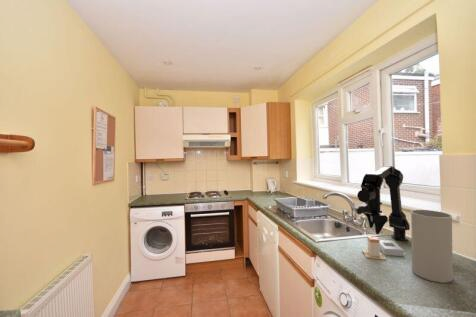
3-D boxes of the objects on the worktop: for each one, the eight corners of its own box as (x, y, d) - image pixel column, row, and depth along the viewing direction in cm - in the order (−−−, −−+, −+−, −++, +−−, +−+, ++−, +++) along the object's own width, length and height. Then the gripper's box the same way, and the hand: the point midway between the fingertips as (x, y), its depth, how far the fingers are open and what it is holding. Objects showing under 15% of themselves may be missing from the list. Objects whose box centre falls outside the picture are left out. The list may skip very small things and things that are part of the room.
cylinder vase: (442, 270, 95) (442, 210, 95) (460, 286, 84) (459, 218, 83) (407, 265, 100) (406, 209, 99) (419, 280, 88) (418, 216, 87)
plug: (367, 252, 113) (367, 236, 112) (376, 253, 112) (376, 236, 112) (370, 255, 109) (370, 239, 109) (379, 256, 108) (379, 239, 108)
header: (376, 245, 122) (376, 239, 122) (393, 246, 120) (393, 240, 120) (384, 254, 111) (384, 248, 111) (403, 256, 109) (403, 249, 109)
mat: (362, 251, 115) (362, 250, 115) (379, 252, 113) (379, 251, 113) (366, 258, 107) (366, 257, 107) (385, 259, 105) (385, 258, 105)
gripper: (350, 195, 122) (351, 224, 122) (360, 202, 104) (361, 236, 104) (374, 195, 119) (374, 225, 120) (388, 203, 101) (388, 238, 101)
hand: (374, 230), depth 111 cm, fingers open, 9 cm apart
